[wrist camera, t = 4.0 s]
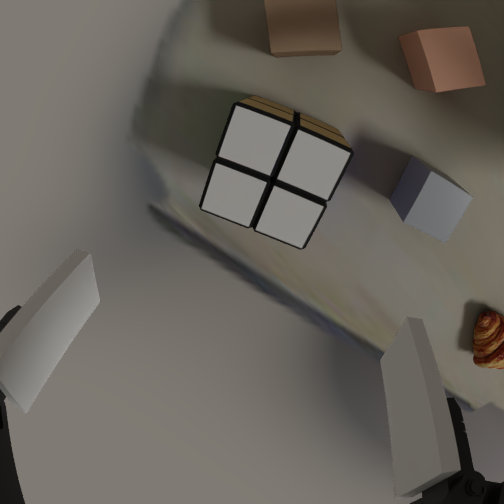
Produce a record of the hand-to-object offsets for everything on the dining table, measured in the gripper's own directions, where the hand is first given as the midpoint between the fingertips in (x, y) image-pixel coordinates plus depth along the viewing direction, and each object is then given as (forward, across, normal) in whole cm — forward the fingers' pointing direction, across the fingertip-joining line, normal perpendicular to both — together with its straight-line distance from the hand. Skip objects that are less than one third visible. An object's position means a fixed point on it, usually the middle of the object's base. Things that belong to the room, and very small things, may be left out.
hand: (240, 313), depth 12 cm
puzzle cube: (+25, 0, 0) cm, 25 cm away
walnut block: (+25, 0, +14) cm, 29 cm away
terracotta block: (+25, +14, +15) cm, 32 cm away
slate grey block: (+25, +17, 0) cm, 30 cm away
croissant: (+25, +44, -21) cm, 55 cm away
